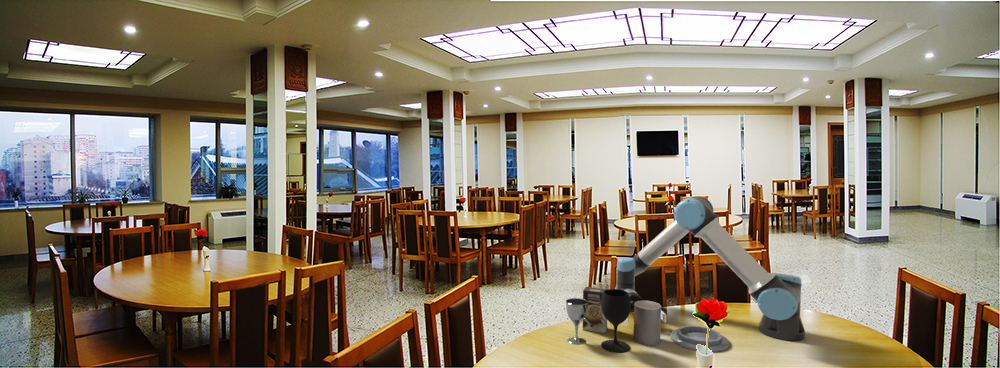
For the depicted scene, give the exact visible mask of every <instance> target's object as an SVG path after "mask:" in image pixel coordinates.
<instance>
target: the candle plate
mask: <svg viewBox="0 0 1000 368" xmlns="http://www.w3.org/2000/svg"><path fill="white" fill-rule="evenodd" d="M707 328H708V327H705V326H700V325H691V324H690V325H689V324H688V325H683V326H680V327H679V328H677V329H674V330H672V331H670V340H671V341H672V342H673V343H674V344H675V345H678V346H680V347H681V348H683V349H684V348H685V349H688V350H691V351H696V352H698V351H697V349H696V345H697V344H701V345H704V346H705V345H706V334H707ZM708 348H709V349H710V350H712V352H711V353H719V352H723V351H726V350H728V348H730V341H729V339H728V338H727V337H726V336H724V335H722V334H721V333H720V332H719V331H717V330H715V329H713V328H710V331H709V338H708Z"/></svg>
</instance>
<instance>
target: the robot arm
mask: <svg viewBox="0 0 1000 368" xmlns="http://www.w3.org/2000/svg"><path fill="white" fill-rule="evenodd" d="M673 213H674V214H673V216H674V220H673V221H672V222H671V223H670V224H669V225H668V226H666V227H665V228H664V229H663V230H662V231H661V232H660V233H658V234H657V235H656V236H655V238H653V239H652V240H651V241H650V242H649V243H647V245H645V246H644V247H643V248H642V249H641V250H640V251H638V253H637V254H635V255H634V256H633V257H629V256H628V257H624V256H623V257H619V258H618V259H617V262H616V263H617V264H616V275H617V276H616V279H617V280H616V285H615V288H614V289H619V290H624V291H626V292H628V294H629V297H630V303H631V310H630V313H634V303H635V302H637V301H644V299H642V297H641V296H640V295H639V294H638V293H637V291H636V290H635V289H636V288H635V283H636V281H635V280H636V279H635V278H636V276H639V275H640V274H643V273H644V272H646V270H647V269H648V268H649V267H650V266H651V265H652V264H654V262H655V261H657V260H659V258H660V257H662V256H663V255H664V254H665V253H667V252H668V251H669V250H670V249H671V248H672V247H673V246H675V245H676V244H677V243H678V242H680V240H681V239H683V238H684V237H685V236H686V235H687V234H689V232H690V234H692V236H693V237H694V238H701V239H702V240H703V241H704V243H706V245H708V246H709V248H710V249H711V250H712V251H714V253H716V255H717V256H718V257H719V258H720V259H721V260H722V262H724V263H725V264H726V265H727V266H728V268H730V270H731V271H732V272H733V273H735V274H736V276H737V277H738V278H740V279H741V280H742V282H743V283H744V284H745V285H746V286H747V287H748V294H749V296H751V297H752V298H753V299H754V300H755V302H756V303H757V307H758V309H759V310H760V312H761V313H762V316H761V318H760V321H759V325H758V330H759V332H760V333H762V334H763V335H765V336H768V337H771V338H774V339H777V340H783V341H792V342H793V341H794V342H795V341H801V340H802V341H803V340H804V339H806V330H805V327H804V323H803V321H802V318H801V301H802V300H801V299H802V286H803V285H802V279H801V278H800V277H799V276H796V275H791V274H786V273H779V272H777V273H776V272H768V271H767V270H766V269H765V268H764V267H763V266H762V265H761V264H760V263H759V262H758V261H757V260H756V259H755V258H754V257H753V256H752V255H751V254H750V253H749V252H748V251H747V250H746V249H745V248H744V247H743V245H741V244H740V243H739V242H738V241H737V240H736V239H735V238H734V237H733V236H732V235H731V234H730V233H729V232H728V231H727V230H726V229H725V228H724V227H723V226H722V225H721V224H720V223H719V220H720V218H719V216H718V215H717V214H716V213H714V206H713V204H712V203H711V201H710V200H709V199H707V198H705V197H703V196H699V195H698V196H692V197H689V198H685V199H683V200H681V201H680V202H678V204H677V205H676V206H675V208H674V211H673ZM667 315H668V308H666V307H664V306H662V305H661V322H663V323H667ZM630 317H631V316H630V314H629V316H628V318H627V319H626V320H625V322H627V323H630V321H631V320H630Z"/></svg>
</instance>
